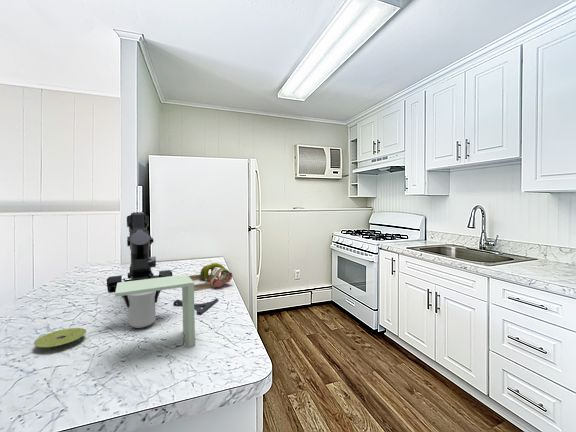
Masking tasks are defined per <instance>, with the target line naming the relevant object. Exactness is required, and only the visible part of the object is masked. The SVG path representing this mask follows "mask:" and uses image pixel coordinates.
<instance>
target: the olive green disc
mask: <svg viewBox="0 0 576 432" xmlns="http://www.w3.org/2000/svg"><path fill="white" fill-rule="evenodd" d="M86 333H87V330H86V329H85V328H83V327H82V328H81V327H71V328H63V329H59V330H55V331H51V332H49V333H46V334H44V335H41V336H40V337H39V338H37V339H36V340H35V341H34V342H33V345H34V346H35V347H37V348H52V347H58V346H62V345H66V344H69V343H70V342H74V341H77V340H79V339H80V338H82V337H84V335H86Z"/></svg>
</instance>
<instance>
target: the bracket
mask: <svg viewBox="0 0 576 432" xmlns="http://www.w3.org/2000/svg"><path fill="white" fill-rule="evenodd" d="M218 302H219V298H214V299H213V300H211V301H208V302H204V303H194V311H196V316H199V315H200V316H202V315H203V314H204V313H206V312H207V311H208V310H209V309H210V308H212V307H213V306H214V305H216V303H218ZM172 305H173V307H183V305H182V300H180V299H176V300H174V301H173V304H172Z"/></svg>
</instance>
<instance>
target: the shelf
mask: <svg viewBox="0 0 576 432" xmlns="http://www.w3.org/2000/svg"><path fill="white" fill-rule="evenodd" d="M189 276H190V275H188V274H186V273H185V274H179V275H172V276H169V277H160V278H152V279H144V280H136V281H127V282H119V283H117V287H116V292H114V294H115V298H116V297H121V296H124V295H131V294H138V293H145V292H152V291H155V292H156V291H159V290H161V291H165V290H173V289H179V288H181V292H182V293H181V297H182V300H181V301H182V305H183V306H182V333H183V334H184V335H183V336H184V337H185V340H186V343H187V345H188V347H189V348H190V347H194V346H196V331H195V330H196V327H195V325H196V322H195V309H194V304H195V291H194V284H195V282H194V281H192V280H191V278H190V277H189Z"/></svg>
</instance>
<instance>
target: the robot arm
mask: <svg viewBox="0 0 576 432" xmlns="http://www.w3.org/2000/svg"><path fill="white" fill-rule="evenodd" d="M126 227H127V228H128V232H129V236H127V238H126V243H127V244H126V245H127V247H129V249H130V250H129V251H130V266H129V272H127V278H125V277H123V275H111V276H108V277H107V278H106V288H107V289H106V290H107V293H110V294H111V293H115V292H116V287H117V283H119V282H127V281H136V280H144V279H152V278H160V277H169V276H173V271H172V270H171V269H166V270H160V271H158V275H155V274H154V273H153V272H152V268H156V266H157V259H156V256H150V246H151V245H152V243H154V238H153V237H152V235H151V234H150V232H149V230H148V227H150V226H149V215H147V214H145V212H143V211H141V212H138V211H137V212H131V214H129V215H128V216H126ZM161 291H162V290H159V291H155V304H157V302H158V300H159V295H160V293H161ZM120 297H121V298H122V300H123V301H124V303H125V305H126V307H127V308H129V300H128V295H124V296H120Z"/></svg>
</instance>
